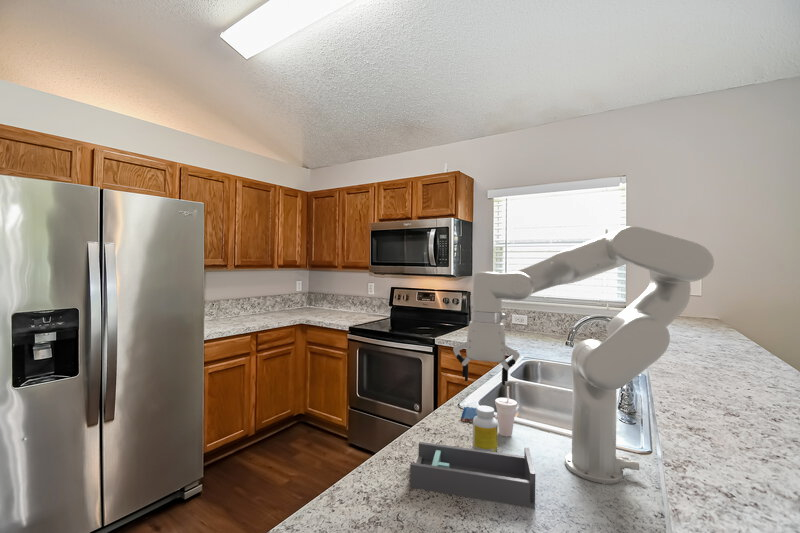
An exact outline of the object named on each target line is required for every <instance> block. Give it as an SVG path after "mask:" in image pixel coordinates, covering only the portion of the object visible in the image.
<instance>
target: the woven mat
mask: <svg viewBox="0 0 800 533" xmlns="http://www.w3.org/2000/svg"><path fill="white" fill-rule="evenodd" d="M476 408H477V407H473V406H472V407H470V406H466V407H465V406H463V410H462V414H461V419H460V421H461V422H463V421H464V422H466V423H470V422H472V423H473V418H474V417H475V416H477V413H476ZM493 417H494V418H495V419H496V415H494V416H493ZM464 422H463V423H464Z"/></svg>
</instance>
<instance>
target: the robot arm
mask: <svg viewBox="0 0 800 533" xmlns="http://www.w3.org/2000/svg"><path fill="white" fill-rule="evenodd" d="M714 263H715V261H714V257H713V254H712V253H711V252H710V250H709V249H708V248H706V247H705V246H704V245H701V244H700V243H698V242H694V241H692V240H687V239H684V238H680V237H678V236H673V235H669V234H666V233H662V232H660V231H656V230H652V229H648V228H645V227H642V226H634V225H633V226H632V225H630V226H625V227H622V228H619V229H615V230H613V231H611V232H608V233H606V234H602V235H601V236H598V237H596V238H594V239H591V240H587V241H585V242H582V243H581V244H577V245H575V246H572V247H570V248H566V249H564V250H562V251H560V252H558V253H556V254H554V255H552V256H550V257H548V258H546V259H544V260H542V261H539V262H537V263H534V264H531V265H529V266H527V267H524V268H521V269H519V270H517V271H512V272H505V273H500V272H496V271H477V272H476V273H474V274H473V285H472V286H473V289H472V291H473V292H472V318H471V319H472V320H470V321H469V322H468V327H467V333H466V334H467V338H466V341H464V342H463V343H461V344H459V345H455V346H454V347H453V348H452V350H453V353H454V355H455V358H456V360H458V361H459V363H460V364H461V365H462V378H464V381H465V382H468V380H469V363H470V362H471V361H472V360H473V361H483V362H492V363H493V362H494V363H500V365H501V366H502V367H501V385H503V386H505V385H506V382H508V381H509V370H510V369H511V368H512V367H513V366H514V365H516V363H517V361H518V359H519V358H520V356H521V355H520V353H519V351H517V350H515V349H513V348H512V347H510V346H508V345H506V331H505V324H504V323H503V322H502V321H504V320H508V314H505V313H503V312H502V306H503V304H502V302H503V300H509V301H514V302H522V301H523V302H524V301H526V300H527V299H529V298H530V297H531V296H532V294H536V293H539V292H542V291H544V290H547V289H550V288H553V287H556V286H560V285H562V286H563V285H568V284H575V283H577V282H581V281H584V280H586V279H589V278H592V277H594V276H597V275H600V274H602V273H605V272H607V271H608V272H609V271H610V270H614V269H616V268H619V267H621V266H625V265H627V264H629V265H630V264H631V265H634V266H637V267H640V268H643V269H646V270H648V273H649V283H648V286H647V288H646V289H645V290H644V291H643V292H642V293H641V294H640V295H639V296H638V297H637V298H636V299H634V300H633V301H632V302H631V303H630V304H629V305H628V306H627V307H626V308H623V310H622V311H620V312H619V313H618V314H616V315H615V316H614V317H613V318H612V319H610V321H609V322H608V325H607V335H608V337H607V338H606V339H605V340H604V341H601V340H598V339H592V338H591V339H590V338H589V339H584V340H582V341H580V342H578V343H577V344H576V345H575V346H574V348H573V350H572V352H571V362H570V363H571V376H572V378H571V379H572V411H571V412H572V414H571V417H572V419H571V420H572V421H571V423H572V424H571V452H569V453H567V454H566V455H565V457H564V464H565V466H566V468H567V469H568V470H569V471H570V472H571V473H574V474H575V475H577V476H578V477H581V478H583V479H585V480H588V481H590V482H595V483H599V484H607V485H608V484H611V485H612V484H618V483H620V482H622V481H623V479H624V470H625V469H627V470H628V469H629V470H633V471H640V463H639V461H638V460H636V461H635V460H630V459H629V456H625V455H618V453H617V409H618V408H617V407H618V405H617V404H618V403H617V401H618V400H617V399H618V396H617V390H619V389H620V388H624V387H625V386H626V385H627V384H629V383H630V382H632V380H634V379H635V378H637V377H638V376H639V375H641V373H643V372H644V371H646V370H647V369H648V368H650V366H652V365H653V364H654V363H655V362H657V361H658V360H659V359H661V357H662V356H663V355H664V354H665V353H666V351H667V349H668V348H669V346H670V343H671V342H670V340H671V337H670V336H671V335H670V332H669V329H668V327H669V325H671V323H673V322H674V321H675V320H676V319H677V318H678V317H680V315H682V314H683V312H684V311H685V310H686V308H687V307H688V304H689V302H690V298H691V292H692V291H691V283H693V282H697V281H700V280H703V279H705V278H706V277H707V276H708V275H709V274H710V273H711V272H712V270H713V268H714V265H715V264H714ZM502 299H503V300H502ZM463 349H465V351H466V352H465V353H466V354H465V355H466V356H465V357H463V355H462V354H461V352H460V351H461V350H463ZM506 353H508V354H510V355H511V356H512V357H511V358H510V359H509V360H508V361H506Z"/></svg>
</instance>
